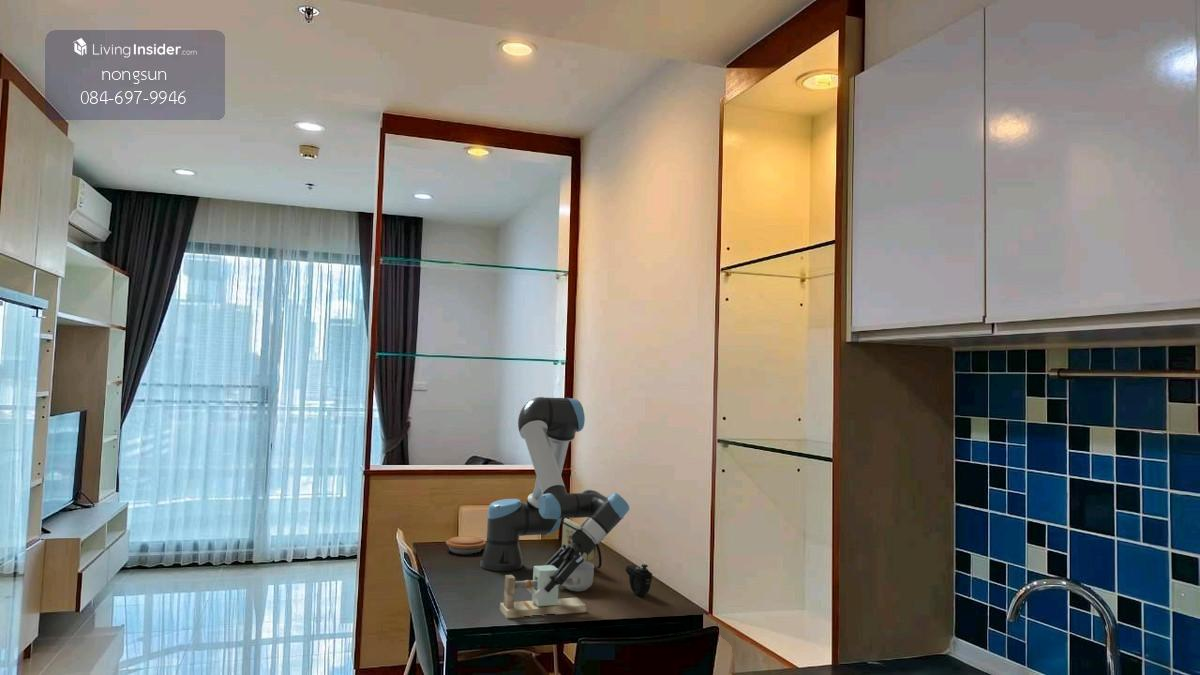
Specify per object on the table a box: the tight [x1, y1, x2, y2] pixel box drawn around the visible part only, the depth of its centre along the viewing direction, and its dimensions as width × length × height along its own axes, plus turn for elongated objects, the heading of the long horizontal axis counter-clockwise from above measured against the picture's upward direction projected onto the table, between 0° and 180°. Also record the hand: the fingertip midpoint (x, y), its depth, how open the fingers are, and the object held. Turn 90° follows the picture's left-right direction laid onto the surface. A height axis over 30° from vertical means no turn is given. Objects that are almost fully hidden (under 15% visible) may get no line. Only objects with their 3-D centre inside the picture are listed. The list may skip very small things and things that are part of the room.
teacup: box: [564, 561, 595, 592], centre depth 245 cm, size 14×11×8 cm
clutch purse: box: [560, 518, 603, 569], centre depth 278 cm, size 30×7×15 cm, turn 24°
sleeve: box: [531, 564, 560, 606], centre depth 220 cm, size 6×6×10 cm
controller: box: [625, 563, 653, 596], centre depth 242 cm, size 4×12×10 cm, turn 27°
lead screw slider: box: [499, 574, 587, 619], centre depth 220 cm, size 24×8×10 cm, turn 112°
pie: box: [445, 535, 487, 555], centre depth 291 cm, size 15×16×5 cm
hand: (533, 595), depth 219 cm, fingers open, 6 cm apart
